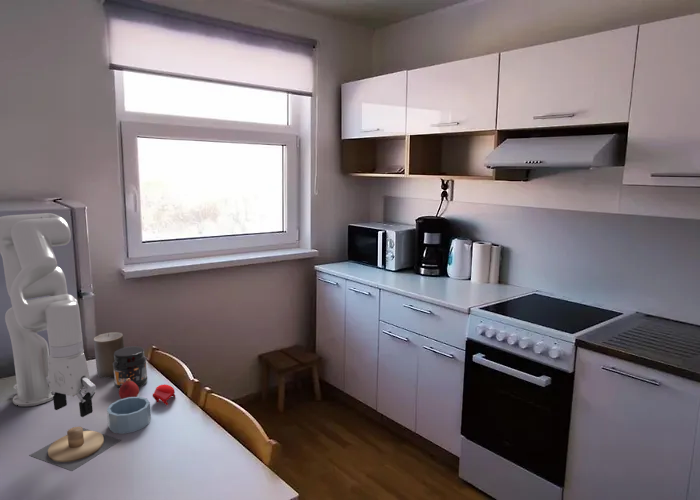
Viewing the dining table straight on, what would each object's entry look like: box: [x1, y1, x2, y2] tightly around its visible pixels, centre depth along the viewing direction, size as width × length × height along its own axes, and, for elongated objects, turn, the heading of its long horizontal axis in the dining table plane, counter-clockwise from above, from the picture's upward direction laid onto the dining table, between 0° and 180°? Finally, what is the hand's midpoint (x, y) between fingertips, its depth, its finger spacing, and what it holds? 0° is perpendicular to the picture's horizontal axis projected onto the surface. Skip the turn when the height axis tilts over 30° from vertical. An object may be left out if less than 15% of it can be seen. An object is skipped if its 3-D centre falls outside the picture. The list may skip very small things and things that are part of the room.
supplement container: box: [113, 345, 148, 390], centre depth 169 cm, size 10×10×12 cm
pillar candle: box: [93, 331, 125, 379], centre depth 178 cm, size 10×10×15 cm
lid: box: [48, 426, 104, 462], centre depth 131 cm, size 13×13×5 cm
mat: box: [29, 427, 122, 472], centre depth 132 cm, size 16×15×1 cm
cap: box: [152, 384, 177, 406], centre depth 158 cm, size 8×6×6 cm
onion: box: [118, 378, 140, 399], centre depth 157 cm, size 6×6×8 cm
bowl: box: [106, 396, 152, 434], centre depth 144 cm, size 11×11×6 cm
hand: (73, 411), depth 129 cm, fingers open, 9 cm apart
